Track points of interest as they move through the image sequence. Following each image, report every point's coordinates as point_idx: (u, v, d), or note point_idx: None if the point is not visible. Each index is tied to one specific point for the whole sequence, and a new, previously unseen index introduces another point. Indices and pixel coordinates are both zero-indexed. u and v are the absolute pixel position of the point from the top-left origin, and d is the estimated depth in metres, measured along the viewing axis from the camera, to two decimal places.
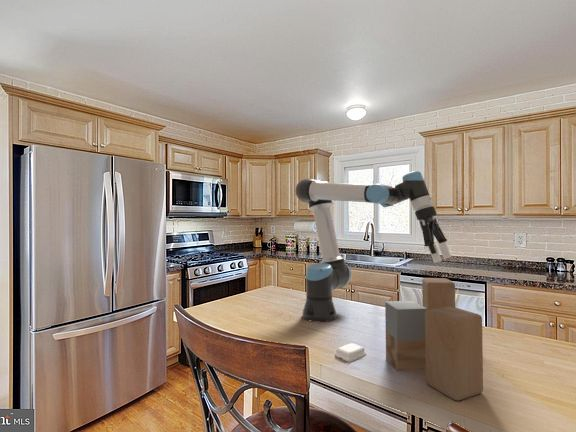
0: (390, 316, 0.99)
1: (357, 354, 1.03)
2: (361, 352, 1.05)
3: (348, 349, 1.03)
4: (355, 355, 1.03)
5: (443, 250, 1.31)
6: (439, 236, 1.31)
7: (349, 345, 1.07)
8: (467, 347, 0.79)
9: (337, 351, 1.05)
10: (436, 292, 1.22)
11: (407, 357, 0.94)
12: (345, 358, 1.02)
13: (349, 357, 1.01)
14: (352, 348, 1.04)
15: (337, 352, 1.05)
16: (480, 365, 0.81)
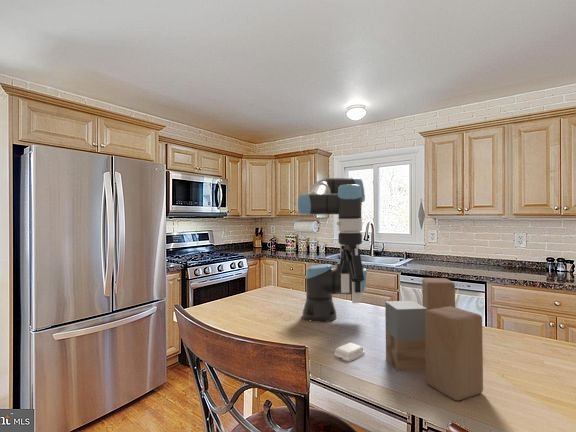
0: (390, 316, 0.99)
1: (356, 353, 1.04)
2: (360, 351, 1.05)
3: (348, 349, 1.04)
4: (355, 355, 1.03)
5: None
6: None
7: (348, 344, 1.08)
8: (467, 347, 0.79)
9: (336, 351, 1.05)
10: (436, 292, 1.22)
11: (407, 357, 0.94)
12: (345, 358, 1.02)
13: (349, 357, 1.02)
14: (351, 348, 1.05)
15: (336, 352, 1.05)
16: (480, 365, 0.81)
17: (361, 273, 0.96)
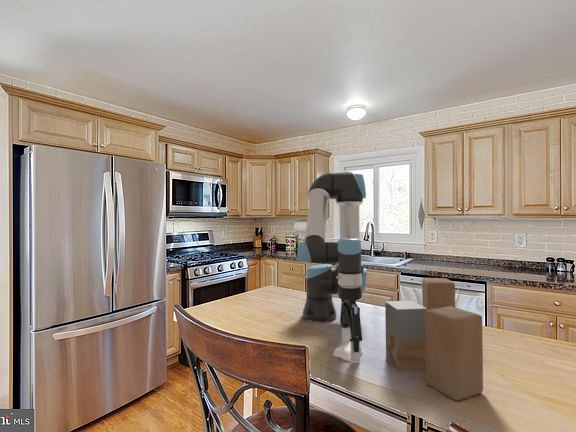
0: (390, 316, 0.99)
1: None
2: None
3: (347, 349, 1.04)
4: None
5: None
6: None
7: (347, 344, 1.08)
8: (467, 347, 0.79)
9: (336, 351, 1.05)
10: (436, 292, 1.22)
11: (407, 357, 0.94)
12: (345, 357, 1.02)
13: (349, 356, 1.02)
14: (350, 348, 1.05)
15: (336, 352, 1.05)
16: (480, 365, 0.81)
17: (360, 334, 0.97)
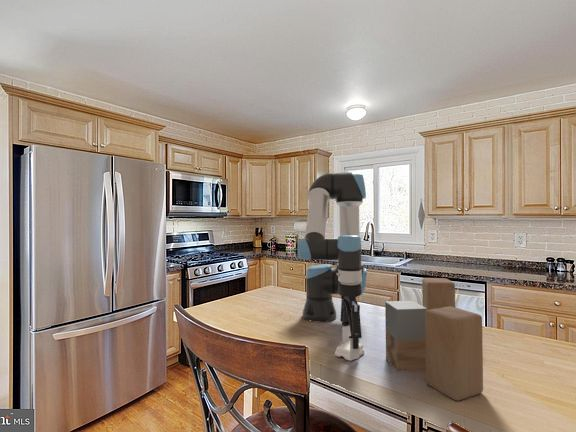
0: (390, 316, 0.99)
1: None
2: (360, 349, 1.05)
3: (349, 347, 1.04)
4: None
5: None
6: None
7: (348, 342, 1.08)
8: (467, 347, 0.79)
9: (337, 350, 1.04)
10: (436, 292, 1.22)
11: (407, 357, 0.94)
12: (347, 356, 1.02)
13: None
14: None
15: (337, 351, 1.04)
16: (480, 365, 0.81)
17: (359, 331, 0.98)
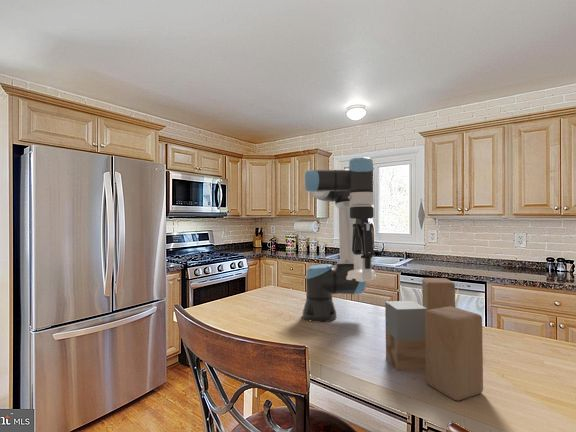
0: (390, 316, 0.99)
1: None
2: (372, 274, 1.03)
3: (361, 270, 1.02)
4: None
5: None
6: None
7: (360, 269, 1.06)
8: (467, 347, 0.79)
9: (349, 273, 1.02)
10: (436, 292, 1.22)
11: (407, 357, 0.94)
12: (358, 278, 1.00)
13: None
14: None
15: (349, 274, 1.02)
16: (480, 365, 0.81)
17: (371, 249, 0.96)
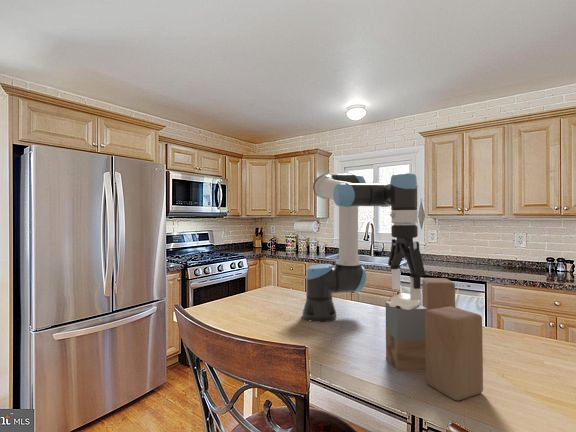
0: (390, 316, 0.99)
1: (414, 301, 0.97)
2: (416, 300, 0.98)
3: (405, 297, 0.97)
4: (412, 303, 0.96)
5: None
6: None
7: (402, 294, 1.01)
8: (467, 347, 0.79)
9: (392, 300, 0.97)
10: (436, 292, 1.22)
11: (407, 357, 0.94)
12: (403, 305, 0.95)
13: (408, 304, 0.94)
14: (407, 296, 0.97)
15: (392, 301, 0.97)
16: (480, 365, 0.81)
17: (422, 268, 0.90)
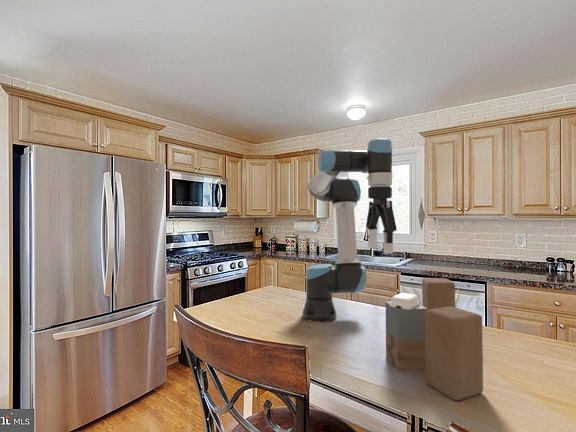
0: (390, 316, 0.99)
1: (414, 301, 0.97)
2: (416, 300, 0.98)
3: (405, 297, 0.97)
4: (413, 302, 0.96)
5: None
6: None
7: (402, 294, 1.01)
8: (467, 347, 0.79)
9: (392, 300, 0.97)
10: (436, 292, 1.22)
11: (407, 357, 0.94)
12: (404, 305, 0.95)
13: (408, 304, 0.94)
14: (407, 296, 0.97)
15: (392, 301, 0.97)
16: (480, 365, 0.81)
17: (393, 223, 0.98)
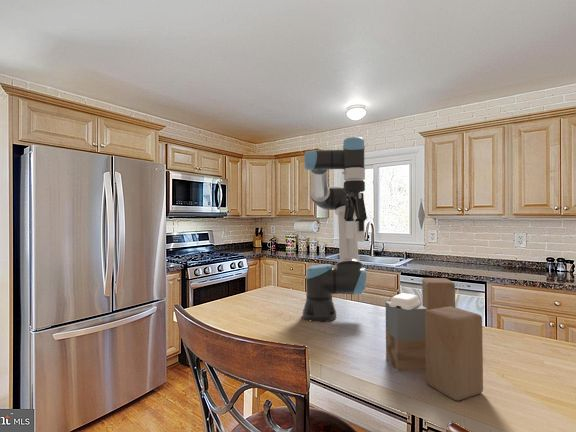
0: (390, 316, 0.99)
1: (414, 301, 0.97)
2: (416, 300, 0.98)
3: (405, 297, 0.97)
4: (413, 303, 0.96)
5: None
6: None
7: (402, 294, 1.01)
8: (467, 347, 0.79)
9: (392, 300, 0.97)
10: (436, 292, 1.22)
11: (407, 357, 0.94)
12: (404, 305, 0.95)
13: (408, 304, 0.94)
14: (408, 296, 0.97)
15: (392, 301, 0.97)
16: (480, 365, 0.81)
17: (364, 213, 1.08)
